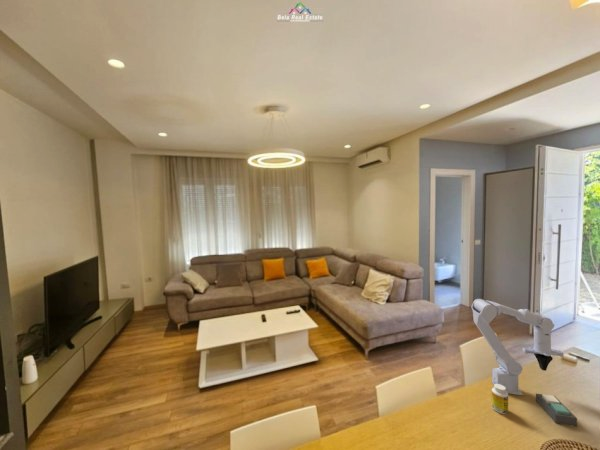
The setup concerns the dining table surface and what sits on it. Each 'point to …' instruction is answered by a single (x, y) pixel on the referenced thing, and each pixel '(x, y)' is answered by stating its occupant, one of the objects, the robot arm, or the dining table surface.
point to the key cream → (550, 399)
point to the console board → (554, 420)
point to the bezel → (556, 416)
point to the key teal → (559, 409)
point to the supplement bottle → (500, 399)
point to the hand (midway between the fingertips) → (542, 369)
